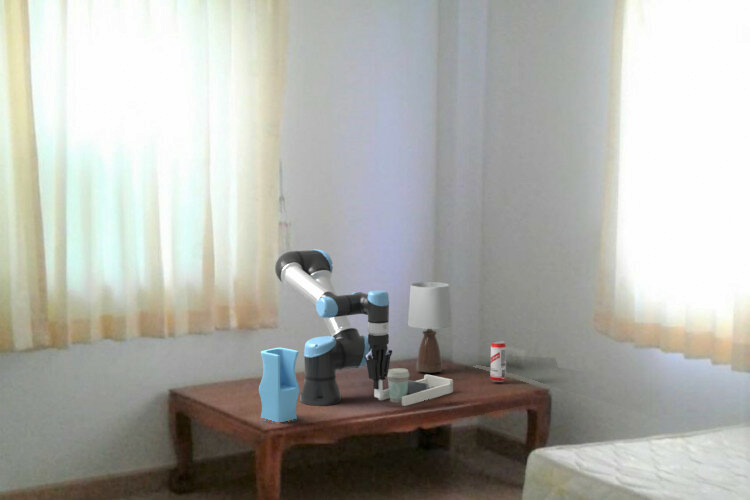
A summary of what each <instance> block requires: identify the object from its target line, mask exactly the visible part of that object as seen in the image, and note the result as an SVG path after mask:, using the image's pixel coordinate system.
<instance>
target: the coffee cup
mask: <svg viewBox="0 0 750 500" xmlns="http://www.w3.org/2000/svg"><path fill="white" fill-rule="evenodd" d="M409 378H410V373H409V370H408V369H407V368H401V367H400V368H399V367H395V368H394V367H393V368H389V370H388V376H387V383H388V388H389V394H390V398H389V401H390V403H393V404H394V403H395V404H402V397H403V396H407V395H408V393H407V388H408V381H409V380H410V379H409Z"/></svg>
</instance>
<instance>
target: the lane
mask: <svg viewBox="0 0 750 500" xmlns="http://www.w3.org/2000/svg"><path fill="white" fill-rule="evenodd" d="M415 381H416V382H421V383H426V384H428V387H431V386H434V388H430V389H427V390H424V391H420V392H417V393H413V394H409V393H408V388H407V396H403V397H402V403H401V406H403V407H405V406H410V405H413V404H417V403H420V402H424V400H425V401H428V399H429V400H433V399H435V398H438V397H441V396H446V395H448V394H449V395H450V394H451V393H453V392H454V380H453V379H452V378H446V377H442V376H437V375H431V374H427V373H426V374H424V376H423V378H420V379H416V380H415ZM387 399H388V400H390V394H389V387H388V388H386V389H383V398H377V400H378V401H384V400H387Z"/></svg>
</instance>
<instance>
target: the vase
mask: <svg viewBox="0 0 750 500" xmlns="http://www.w3.org/2000/svg"><path fill="white" fill-rule="evenodd" d="M299 353H300V352H299V350H295V349H290V348H287V347H286V348H284V347H275V348H270V349H266V350H264V349H263V350H262V351H260V355H261V359H262V366H263V373H262V377H261V380H260V384H259V386H258V393H259V398H260V401H261V402H260V404H261V412H260V413H261V414H260V418H265V419H268V420H272V421H275V422H284V421H288V420H292V421H294V420H293V419H296V420H297V419H298V418H297V402H298V398H299V394H300V385H299V381H298V379H297V375H296V363H297V359H298V357H299ZM288 422H289V421H288Z"/></svg>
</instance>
